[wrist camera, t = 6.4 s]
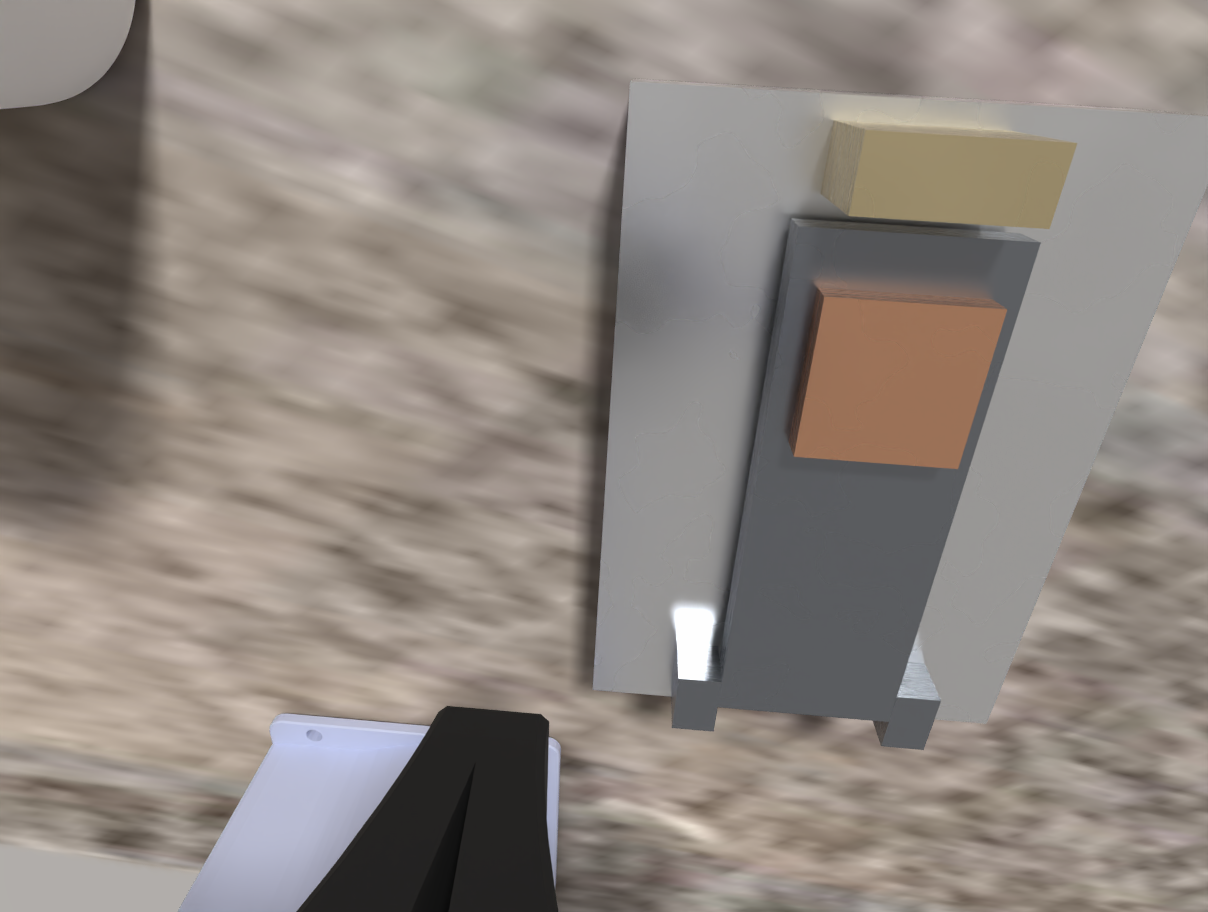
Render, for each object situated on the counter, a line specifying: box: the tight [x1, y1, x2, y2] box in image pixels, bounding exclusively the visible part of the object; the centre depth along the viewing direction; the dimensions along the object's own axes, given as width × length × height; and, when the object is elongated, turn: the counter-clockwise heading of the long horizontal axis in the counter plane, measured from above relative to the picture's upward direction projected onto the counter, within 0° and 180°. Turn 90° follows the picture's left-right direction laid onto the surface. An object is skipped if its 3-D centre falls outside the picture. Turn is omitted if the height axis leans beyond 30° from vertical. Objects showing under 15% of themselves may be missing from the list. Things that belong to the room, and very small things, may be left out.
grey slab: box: [718, 218, 1041, 722], centre depth 15 cm, size 4×11×1 cm, turn 177°
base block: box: [593, 79, 1208, 750], centre depth 16 cm, size 10×14×5 cm
